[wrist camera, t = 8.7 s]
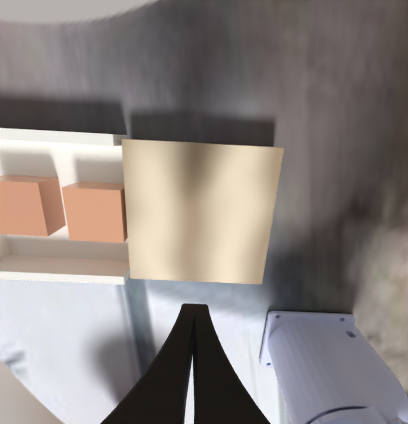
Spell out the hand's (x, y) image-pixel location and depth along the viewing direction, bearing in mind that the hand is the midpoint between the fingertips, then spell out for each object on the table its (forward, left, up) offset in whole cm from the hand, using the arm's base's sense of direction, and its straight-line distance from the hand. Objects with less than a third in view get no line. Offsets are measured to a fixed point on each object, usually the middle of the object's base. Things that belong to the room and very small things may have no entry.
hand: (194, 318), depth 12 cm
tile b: (+15, -3, -10) cm, 18 cm away
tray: (+12, -3, -10) cm, 16 cm away
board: (0, -3, -10) cm, 10 cm away
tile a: (+8, -3, -10) cm, 13 cm away
